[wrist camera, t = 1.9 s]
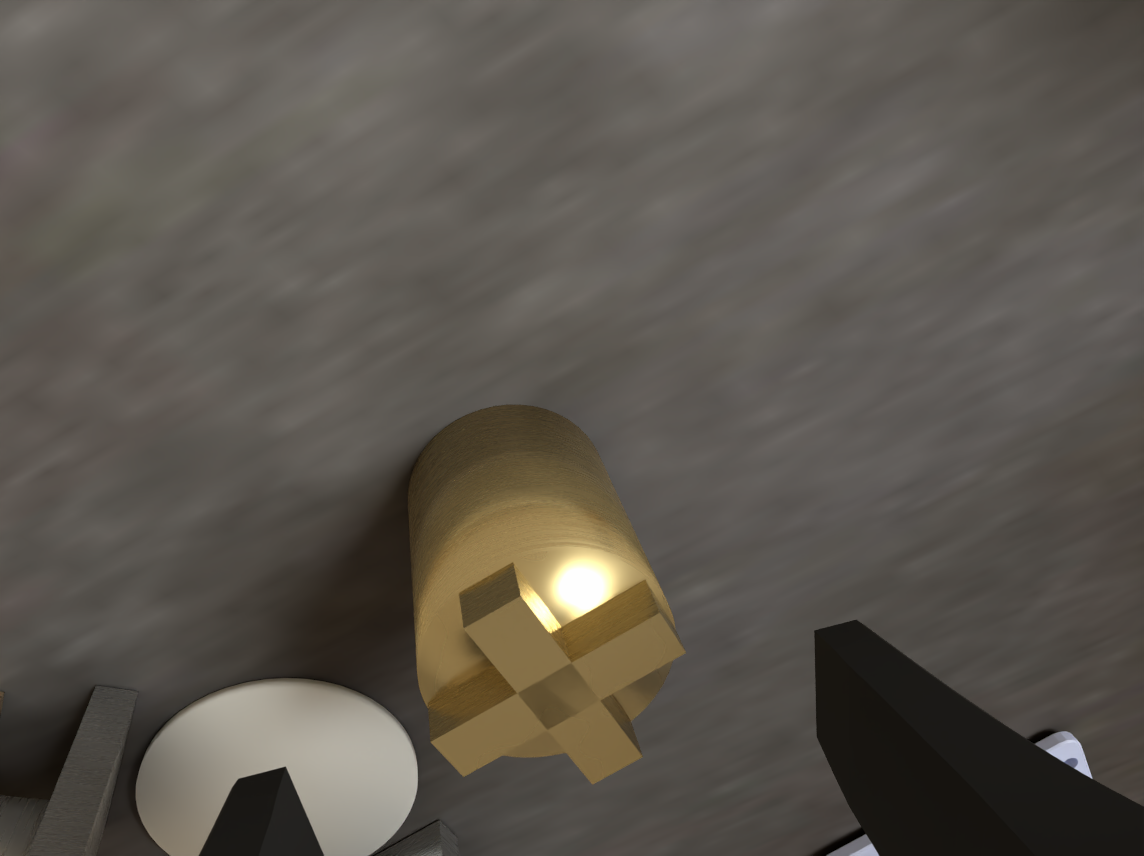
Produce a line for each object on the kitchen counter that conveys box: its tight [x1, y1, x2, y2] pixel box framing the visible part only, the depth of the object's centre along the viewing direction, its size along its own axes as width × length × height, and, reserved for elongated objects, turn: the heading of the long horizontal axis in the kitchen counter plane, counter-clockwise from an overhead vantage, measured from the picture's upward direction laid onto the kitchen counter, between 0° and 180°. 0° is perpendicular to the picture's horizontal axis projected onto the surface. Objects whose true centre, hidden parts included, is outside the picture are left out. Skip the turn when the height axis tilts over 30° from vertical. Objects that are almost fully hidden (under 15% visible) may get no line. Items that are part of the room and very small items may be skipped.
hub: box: [408, 405, 686, 784], centre depth 15 cm, size 4×4×6 cm
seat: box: [136, 678, 418, 856], centre depth 20 cm, size 6×6×1 cm
